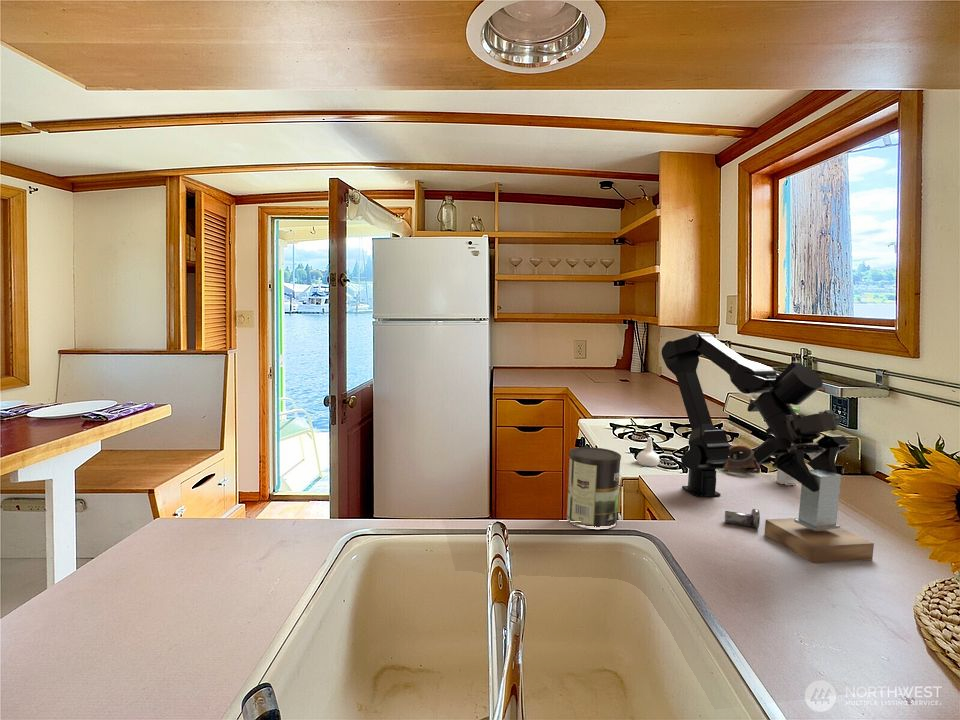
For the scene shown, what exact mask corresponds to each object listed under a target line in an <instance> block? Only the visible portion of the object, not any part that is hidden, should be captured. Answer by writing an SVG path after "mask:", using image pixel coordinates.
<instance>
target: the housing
mask: <svg viewBox="0 0 960 720" xmlns="http://www.w3.org/2000/svg"><path fill="white" fill-rule="evenodd" d="M809 471H810V473H811V475H812V476H813V478H814V480H815V482H816V484H817V486H818V488H819V490H818V491H816V492H813V491H811V490H810V489H808V488H807V487H805V486H804V485H803V484H801V488H800V489H801V490H800V498H799V499H800V500H799V508H798V509H799V510H798V517H797V518H798V519H794V522H796V523H798V524H801V525H803V526H805V527H807V528H810V529H812V530H814V531H821V530H829V529H837V528H841V525H840V524H839V523H838V524H837V521H838V511H839V502H840V501H839V500H840V493H841V492H840V491H841V482H842V481H841V480H842V474H840V473H838V472H837V473H834V472H830V471H827V470H824V469H818V470H814V469H809Z"/></svg>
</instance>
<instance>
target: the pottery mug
mask: <svg viewBox="0 0 960 720" xmlns="http://www.w3.org/2000/svg"><path fill="white" fill-rule="evenodd" d="M729 450H730V455H729V457H728V459H727V461H726V464H725V466H724V469H723V470H725V471H726V470H727V471H726V472H728V471H729V470H742V469H747V468H749V467H752V469H754V470H756V471H757V472H758V473H761V466H760V465H758V463H757V462H756V460H755V458H754V457H753V455H754V449H752V448H751V447H749V446H747V445H742V444H741V445H740V444H737V445H731V444H730V447H729Z"/></svg>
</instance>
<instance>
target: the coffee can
mask: <svg viewBox="0 0 960 720" xmlns="http://www.w3.org/2000/svg"><path fill="white" fill-rule="evenodd" d="M568 455H569V461H568V462H569V463H568V464H569V465H568V489H567V507H566V510H567V511H566V520H567V522H569V521H581V522H569V523H570V524H571V523H572V524H571V525H573V524H575V525H585V526H594V527H595V526H596V527H600V526H611V525H614V524H616V522H617V523H618V507H619V506H618V505H619V502H618V501H619V488H620V487H619V486H620V469H621V460H622V455H621V454H620V453H619V452H617V451H615V450H611V449H607V448H604V447H603V448H601V447H591V446H590V447H589V446H582V447H574V448H571V449H570V450H569V452H568ZM575 525H574V526H575Z"/></svg>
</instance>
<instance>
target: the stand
mask: <svg viewBox="0 0 960 720" xmlns="http://www.w3.org/2000/svg"><path fill="white" fill-rule="evenodd" d="M798 518H799V517H794V518H793V517H791V518H766V519H765V522H764V523H765V524H764V532H763V533H764V535H765V536H767V537H768V538H770V539H772V540H774V541H775V542H777V543H779V544H780V545H783V546H784V547H786V548H787V549H789V550H791V551H792V552H794V553H795V554H798V555H799V556H801V557H803V558H805V559H806V560H808V561H810V562H811V563H813V564H819V563H821V564H823V563H836V562H837V563H838V562H839V563H840V562H853V561H854V562H855V561H857V562H858V561H872V560H873V558H874V557H873V556H874V555H873V554H874V548H875V547H874V546H875V543H874V542H872V541H870V540H868V539H865V538H863V537H861V536H859V535H857V534H855V533H853V532H851V531H848V530H846V528H845V529H844V528H842V527H840V528H837V529H829V530H821V531H814V530H812V529H810V528H807V527H805V526H803V525H801V524H798V523H796V522H794V519H798Z"/></svg>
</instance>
